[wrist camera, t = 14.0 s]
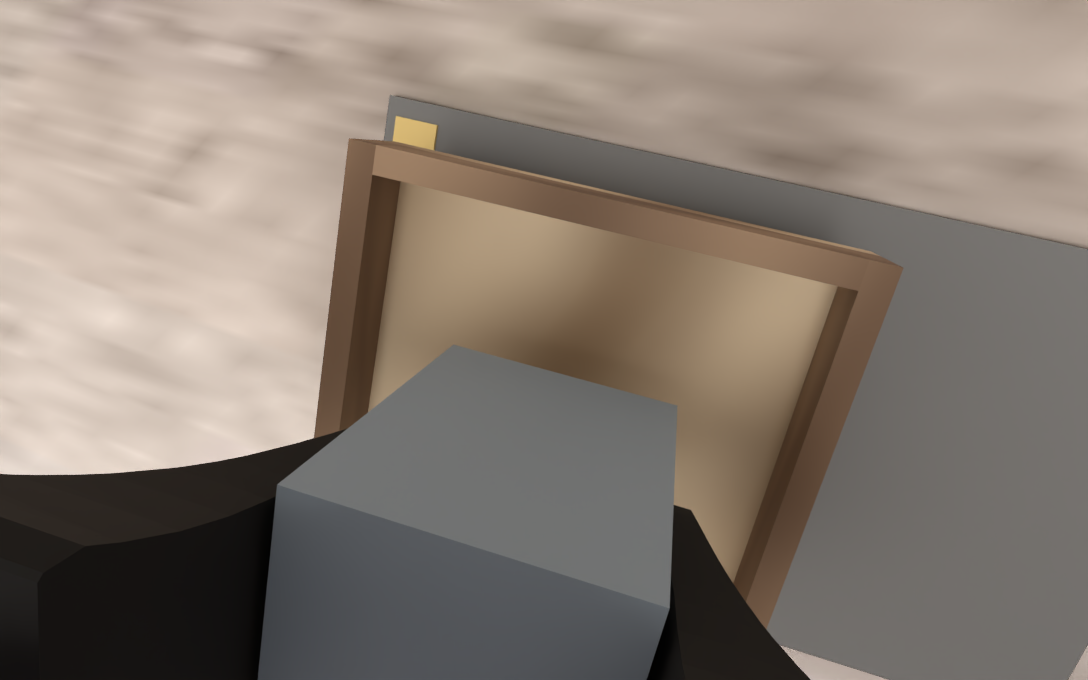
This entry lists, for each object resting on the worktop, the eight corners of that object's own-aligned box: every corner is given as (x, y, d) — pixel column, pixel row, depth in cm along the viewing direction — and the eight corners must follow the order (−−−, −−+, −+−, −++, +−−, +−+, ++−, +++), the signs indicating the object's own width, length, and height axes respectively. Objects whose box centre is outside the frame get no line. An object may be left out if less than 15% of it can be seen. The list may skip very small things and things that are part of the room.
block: (677, 405, 13) (669, 608, 7) (620, 600, 14) (573, 904, 8) (453, 344, 13) (276, 484, 8) (419, 536, 15) (248, 778, 9)
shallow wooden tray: (845, 238, 17) (903, 267, 12) (719, 600, 20) (729, 727, 15) (432, 143, 18) (349, 138, 14) (378, 494, 21) (297, 582, 17)
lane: (1274, 290, 15) (1289, 293, 15) (1035, 719, 19) (1042, 730, 19) (394, 96, 18) (388, 94, 18) (340, 500, 22) (334, 505, 22)
